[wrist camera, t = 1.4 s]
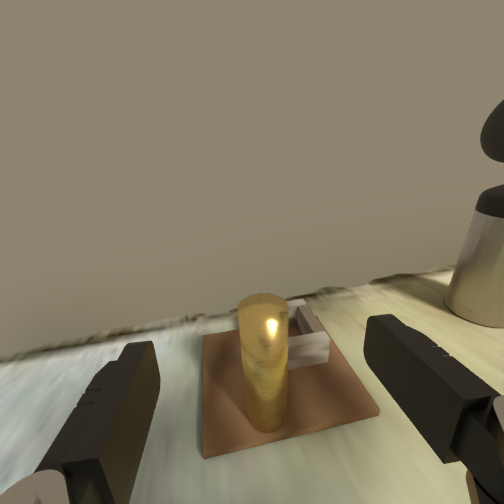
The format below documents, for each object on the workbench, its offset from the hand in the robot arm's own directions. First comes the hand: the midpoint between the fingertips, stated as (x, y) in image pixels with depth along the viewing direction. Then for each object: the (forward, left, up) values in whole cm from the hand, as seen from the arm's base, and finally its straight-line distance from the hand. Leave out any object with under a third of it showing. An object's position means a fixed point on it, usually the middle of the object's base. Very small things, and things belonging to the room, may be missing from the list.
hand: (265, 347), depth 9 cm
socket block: (-5, -15, -21) cm, 26 cm away
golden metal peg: (-2, -10, -20) cm, 22 cm away
